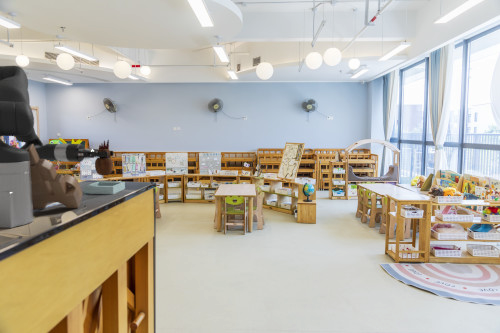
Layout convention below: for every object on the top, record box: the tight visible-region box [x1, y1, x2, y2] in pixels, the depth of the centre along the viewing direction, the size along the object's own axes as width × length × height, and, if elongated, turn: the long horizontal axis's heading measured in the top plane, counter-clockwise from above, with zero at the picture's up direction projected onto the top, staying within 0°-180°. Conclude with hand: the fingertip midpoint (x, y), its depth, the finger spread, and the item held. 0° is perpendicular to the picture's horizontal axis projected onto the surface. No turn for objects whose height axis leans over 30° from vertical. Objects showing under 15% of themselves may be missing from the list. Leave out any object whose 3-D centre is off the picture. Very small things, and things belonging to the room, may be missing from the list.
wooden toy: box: [26, 144, 84, 210], centre depth 97 cm, size 16×7×25 cm
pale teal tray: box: [83, 181, 126, 195], centre depth 134 cm, size 12×12×3 cm
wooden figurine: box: [94, 139, 114, 176], centre depth 132 cm, size 7×6×15 cm
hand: (110, 153), depth 132 cm, fingers closed on wooden figurine, 4 cm apart
